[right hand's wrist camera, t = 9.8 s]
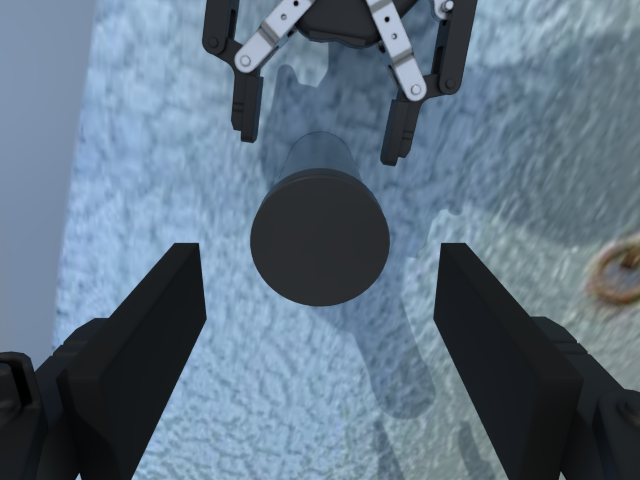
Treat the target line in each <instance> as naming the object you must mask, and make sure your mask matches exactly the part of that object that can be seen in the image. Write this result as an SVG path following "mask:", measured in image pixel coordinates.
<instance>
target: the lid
mask: <svg viewBox="0 0 640 480" xmlns="http://www.w3.org/2000/svg"><path fill="white" fill-rule="evenodd" d="M389 246H390V235H389V229H388V225H387V222H386V219H385V216H384V214H383V212H382V210H381V208H380V206H379V204H378V202H377V200H376V198H375V197H374V195H373V194H372V192H371V191H370V190H369V189H368V188H367V187H366V186H365V185H364V184H363V183H362V182H361V181H359V180H358V179H356V178H355V177H353V176H351V175H349V174H347V173H345V172H342V171H339V170H335V169H329V168H310V169H306V170H301V171H298V172H296V173H293V174H291V175H289V176H287V177H285V178H284V179H282V180H281V181H279V182H278V183H277V184H276V185H275V186H274V187H273V188H272V189H271V190H270V191H269V192H268V194H267V195H266V196H265V198H264V200H263V201H262V203H261V206H260V208H259V210H258V212H257V214H256V217H255V219H254V221H253V225H252V228H251V236H250V247H251V254H252V257H253V261H254V264H255V266H256V268H257V270H258V272H259V273H260V275H261V277H262V278H263V279H264V281H265V282H266V283H267V284H268V285H269V286H270V287H271V288H272V289H273V290H274V291H276V292H277V293H278V294H280V295H281V296H283V297H285V298H287V299H289V300H291V301H294V302H296V303H300V304H303V305H309V306H331V305H337V304H340V303H344V302H347V301H349V300H351V299H353V298H355V297H357V296H358V295H360V294H362V293H363V292H364V291H365V290H367V289H368V288H369V287H370V286H371V285H372V284H373V283H374V282H375V280H376V279H377V278H378V277H379V275H380V273H381V272H382V270H383V268H384V266H385V263H386V261H387V257H388V253H389Z"/></svg>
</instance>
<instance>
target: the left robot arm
mask: <svg viewBox="0 0 640 480" xmlns="http://www.w3.org/2000/svg"><path fill="white" fill-rule="evenodd" d="M239 1H240V0H207V3H206V11H205V20H204V29H203V37H202V44H203V47H204V49H205V50H206V51H207V52H208V53H210V54H213V55H214V56H216V57H218V58H220V59H221V60H223V61H225V62H227V63H228V64H229V65H230V66H231V67H232V69H233V71H234V75H235V80H234V92H233V104H232V116H231V122H232V125H233V129H234V130H238V131H241V141H243V142H249V143H254V142H255V141H256V139H257V135H258V126H259V117H260V107H261V98H262V88H263V79H264V77H260V70H261V68H262V67H263V66H264V65H265V64H266V63H267V62H268V61H269V60H270V58H271V57H272V56H273V55H274V54H275V53H276V52H277V51H278V50H279V49H280V48H281V47H283V46H284V45H285V44H286V43H287V41H288V40H289V39H290V38H291V37H292V36H293V35H294V34H295V33H296V32H297V31H299V32H300V33H301V34H302V35H303V36H304V37H306V38H308V39H309V41H315V42H321V43H324V42H333V41H337V42H339V43H341V44H343V45H345V46H347V47H350V48H355V49H361V50H362V49H363V48H368V47H371V46H373V45H374V44H375V45H376V47H377V50H378V52H379V54H380V56H381V58H382V61H383V63H384V64H385V66H386V67H387V69H388V71H389V73H390V76H391V78H392V80H393V82H394V84H395V87H396V89H397V91H398V93H397V97H396V100H393V99H392V102H391V107H390V111H389V116H388V121H387V126H386V131H385V136H384V141H383V145H382V150H381V156H380V161H381V162H382V163H383V165H389V166H395V165H396V163H397V159H398V157H402V158H405V157H406V156H407V154H408V153H409V151H410V148H411V144H412V139H413V135H414V131H415V127H416V122H417V118H418V113H419V109H420V106H421V105H422V103H423V102H424V101H425V100H427V99H429V98H432V97H437V96H442V95H452V94H454V93H456V92H457V91H458V90H459V88H460V86H461V82H462V77H463V71H464V66H465V61H466V56H467V51H468V46H469V41H470V36H471V31H472V26H473V21H474V16H475V10H476V5H477V0H428V1H429V2H430V6H431V16H432V17H433V19H434V20H436V21H439V22H440V23H439V29H438V34H437V40H436V46H435V52H434V58H433V63H432V69H431V74H429V75H424V76H422V74H421V72H420V70H419V67H418V65H417V63H416V60H415V58H414V55H413V49H412V46H411V44H410V41H409V39H408V37H407V34H406V32H405V29H404V27H403V25H402V22H401V20H400V19H401V18H402V17H403V16H404V15H405V14H406V13H407V12H408V11H409V10H410V9H411V8H412V7H413V6H414V5H415V4H416V3H417V2H418V1H419V0H282V1H281V2H280V3H279V4H278V5H277V6H276V7H275V9H274V10H273V11H272V12H271V13H270V14H269V15H268V16H267V17H266V19H265V20H264V21H263V22H262V23H261V25H260V27H259V29H258V30H257V31H256V32H255V33H254V34H253V35H252V37H251V38H250V39H249V40H248V41H247V42H246V43H245V44H244V45H242V44H240V43H238V42H237V41H235V40H234V37H235V30H236V23H237V16H238V8H239Z"/></svg>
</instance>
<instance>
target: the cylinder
mask: <svg viewBox="0 0 640 480" xmlns="http://www.w3.org/2000/svg"><path fill="white" fill-rule="evenodd" d="M310 168H329V169H335V170H339V171H342V172H345V173H347V174H349V175H351V176H353V177H355V178H356V179H358V180H359V181H361V182H362V179H361V177H360V174H359V172H358V170H357V167H356V165H355V162H354V160H353V157H352V155H351V152H350V150H349V148H348V147H347V145H346V144H345V143H344V142H343V141H342V140H341V139H340V138H339V137H337V136H335V135H333V134H331V133H327V132H313V133H309V134H307V135H305V136H303V137H301V138H300V139H299V140H298V141H297V142H296V143H295V144H294V145H293V147H292V148H291V150H290V152H289V155H288V157H287V160H286V162H285V165H284V167H283V170H282V172H281V174H280V177H279V179H278V182H279V181H281V180H282V179H284V178H285V177H287V176H289V175H291V174H293V173H296V172H298V171H301V170H306V169H310ZM278 182H277V183H278ZM362 183H363V182H362Z"/></svg>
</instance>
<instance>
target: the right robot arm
mask: <svg viewBox="0 0 640 480" xmlns="http://www.w3.org/2000/svg"><path fill="white" fill-rule="evenodd" d="M206 319H207V317H206V307H205V298H204V288H203V279H202V269H201V259H200V250H199V243H174V244H173V245H172V247H171V248H170V249H169V250H168V251H167V252H166V253H165V254H164V256H163V257H162V258H161V259H160V260H159V261H158V262H157V264H156V265H155V266H154V267H153V268H152V269H151V270H150V272H149V273H148V274H147V275H146V276H145V277H144V278H143V280H142V281H141V282H140V283H139V284H138V285H137V286H136V287H135V289H134V290H133V291H132V292H131V293H130V294H129V295H128V297H127V298H126V299H125V300H124V301H123V302H122V303H121V305H120V306H119V307H118V308H117V309H116V310H115V311H114V313H113V314H112V315H111V316H110V317H109V318H94V319H93V320H91V321H89V322H88V323H86V324H84V325H82V326H81V327H79V328H77V329H76V330H75V331H74V332H73V333H72V334H71V335H70V336H69V337H68V338H67V339H66V340H65V341H64V342H63V343H64V344H63V345H60V346H59V347H58V348H57V349H56V350H55V351H54V353H53V356H50V357H49V358H48V359H47V360H46V361H45V362H44V363H43V364H42V365H41V366H40V367H39V368H38V369H37V370H36V371H35V372H34V369H33V365H32V362H31V358H30V357H28V356H27V355H25V354H24V353H19V352H2V353H0V480H75V479H76V478H77V476H78V474H79V473H80V476H81V480H131V479H132V477H133V475H134V473H135V471H136V468H137V466H138V464H139V462H140V460H141V458H142V456H143V454H144V451H145V449H146V447H147V445H148V443H149V441H150V439H151V437H152V434H153V432H154V430H155V428H156V426H157V424H158V422H159V419H160V417H161V415H162V413H163V411H164V409H165V407H166V405H167V402H168V400H169V398H170V396H171V394H172V392H173V390H174V388H175V385H176V383H177V381H178V379H179V377H180V375H181V373H182V370H183V368H184V366H185V364H186V362H187V360H188V358H189V356H190V353H191V351H192V349H193V347H194V345H195V343H196V341H197V339H198V336H199V334H200V332H201V330H202V328H203V326H204V324H205V321H206ZM433 319H434V321H435V324H436V326H437V328H438V330H439V332H440V334H441V336H442V339H443V341H444V343H445V345H446V347H447V349H448V351H449V353H450V356H451V358H452V360H453V362H454V364H455V366H456V368H457V370H458V373H459V375H460V377H461V379H462V381H463V383H464V385H465V388H466V390H467V392H468V394H469V396H470V398H471V400H472V402H473V405H474V407H475V409H476V411H477V413H478V415H479V417H480V419H481V422H482V424H483V426H484V428H485V430H486V432H487V434H488V437H489V439H490V441H491V443H492V445H493V447H494V449H495V451H496V454H497V456H498V458H499V460H500V462H501V464H502V466H503V468H504V471H505V473H506V475H507V477H508V479H509V480H559V476H560V472H562V474H563V475H564V477H565V479H566V480H640V392H638V391H634V390H628V389H624V388H623V387H622V386H621V385H620V384H619V383H618V382H617V381H616V380H615V379H614V378H613V377H612V376H611V375H610V374H609V373H608V372H607V371H606V370H605V369H604V368H603V367H602V366H601V365H600V364H599V363H598V362H597V361H596V360H595V359H594V358H593V357H592V356H591V355H590V354H588V353H587V351H586V349H585V348H584V347H583V346H582V345H581V344H580V343H577V340H576V339H575V338H574V337H573V336H572V335H571V334H570V333H569V332H568V331H567V330H566V329H565V328H564V327H562V326H560V325H559V324H557V323H555V322H554V321H552V320H550V319H548V318H547V317H530V316H529V315H528V314H527V313H526V311H525V310H524V309H523V308H522V307H521V306H520V305H519V303H518V302H517V301H516V300H515V299H514V298H513V297H512V295H511V294H510V293H509V292H508V291H507V290H506V289H505V287H504V286H503V285H502V284H501V283H500V282H499V281H498V280H497V278H496V277H495V276H494V275H493V274H492V273H491V272H490V270H489V269H488V268H487V267H486V266H485V265H484V264H483V262H482V261H481V260H480V259H479V258H478V257H477V256H476V254H475V253H474V252H473V251H472V250H471V249H470V248H469V247H468V245H467V244H466V243H441V250H440V259H439V269H438V279H437V288H436V298H435V307H434V317H433Z"/></svg>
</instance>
